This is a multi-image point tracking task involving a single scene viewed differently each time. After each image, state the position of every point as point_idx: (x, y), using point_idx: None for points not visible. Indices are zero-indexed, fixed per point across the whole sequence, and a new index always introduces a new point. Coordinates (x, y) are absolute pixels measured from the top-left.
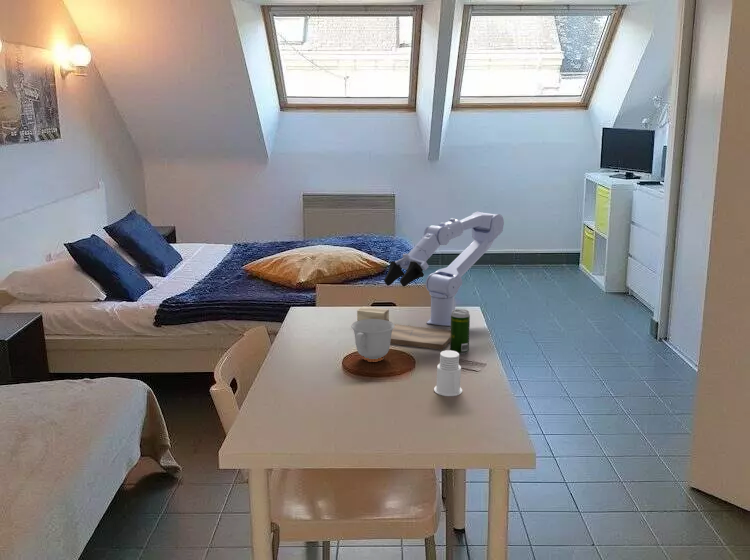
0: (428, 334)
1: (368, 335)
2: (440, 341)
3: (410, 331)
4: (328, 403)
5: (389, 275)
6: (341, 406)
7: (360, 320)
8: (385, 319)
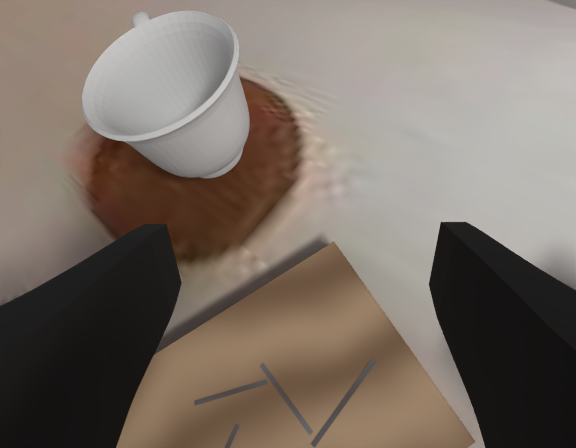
0: None
1: (135, 50)
2: None
3: (308, 416)
4: (115, 4)
5: (483, 284)
6: (91, 17)
7: (233, 53)
8: None
